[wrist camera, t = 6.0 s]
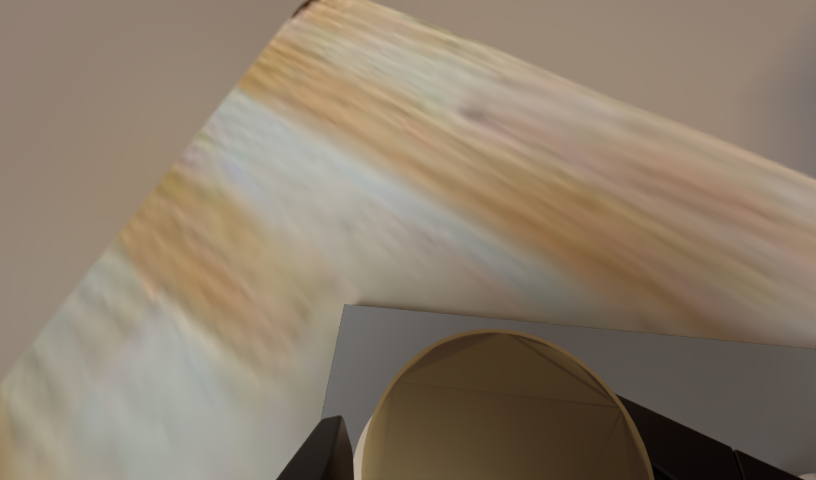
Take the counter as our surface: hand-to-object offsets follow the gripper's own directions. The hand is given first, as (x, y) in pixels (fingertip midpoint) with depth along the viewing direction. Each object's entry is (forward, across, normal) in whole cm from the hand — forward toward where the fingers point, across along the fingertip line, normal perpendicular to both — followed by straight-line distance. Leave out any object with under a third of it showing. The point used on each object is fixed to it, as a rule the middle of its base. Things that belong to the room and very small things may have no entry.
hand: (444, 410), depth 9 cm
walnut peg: (+4, 0, +6) cm, 8 cm away
